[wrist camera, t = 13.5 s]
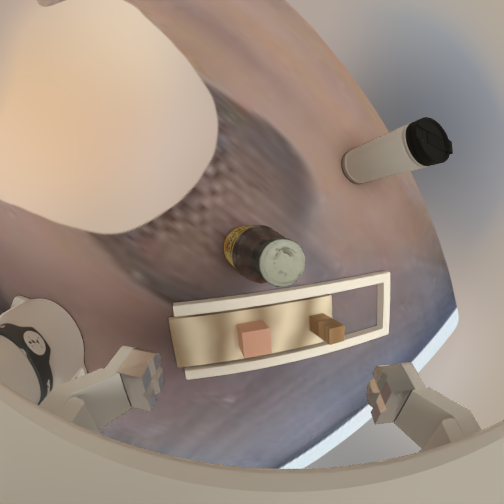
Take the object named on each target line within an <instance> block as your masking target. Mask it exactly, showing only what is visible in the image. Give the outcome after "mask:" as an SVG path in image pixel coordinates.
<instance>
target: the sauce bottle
mask: <svg viewBox="0 0 504 504" xmlns="http://www.w3.org/2000/svg"><path fill="white" fill-rule="evenodd" d="M224 254H225V257H226V259H227V260H228V261H229V263H230V264H231V265H232V266H233V267H234V268H235V269H236V270H237V271H238V272H239V273H240V274H241V275H243V276H244V277H245V278H247V279H249V280H251V281H253V282H258V283H266V282H267V283H269V284H271V285H273V286H277V287H286V286H289V285H292V284H293V283H295V282H296V281H297V280H298V279H299V278H300V277H301V276H302V274H303V272H304V269H305V255H304V252H303V250H302V249H301V247H300V246H299V245H298V244H297V243H296V242H294V241H292V240H290V239H287V238H285V237H284V236H282V235H281V234H279V233H278V232H276V231H275V230H273V229H272V228H270V227H267V226H263V225H253V226H252V225H251V226H241V227H238V228H235V229H234V230H232V231H231V232H230V233H229V234H228V235H227V237H226V239H225V242H224Z"/></svg>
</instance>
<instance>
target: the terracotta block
mask: <svg viewBox="0 0 504 504" xmlns="http://www.w3.org/2000/svg"><path fill="white" fill-rule="evenodd" d="M237 331H238V339H239V348H240V350H241V352H242V354H243V356H244V358H250V357H256V356H261V355H266V354H271V353H272V349H271V336H270V328H269V327H268V326H267V324H266V323H265V322H264V321H263V320H259V321H253V322H247V323H240V324H237Z"/></svg>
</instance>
